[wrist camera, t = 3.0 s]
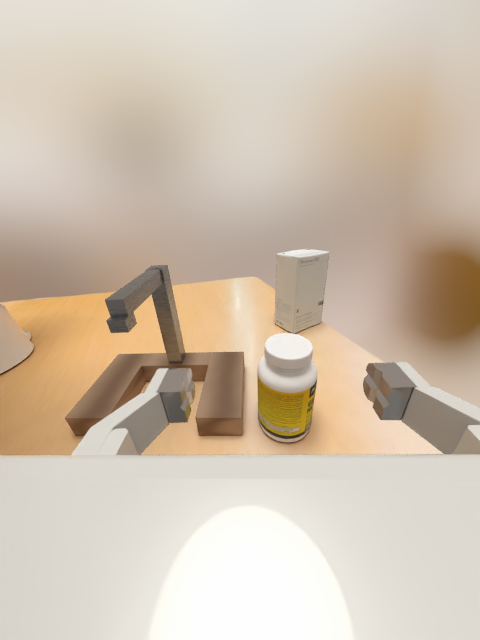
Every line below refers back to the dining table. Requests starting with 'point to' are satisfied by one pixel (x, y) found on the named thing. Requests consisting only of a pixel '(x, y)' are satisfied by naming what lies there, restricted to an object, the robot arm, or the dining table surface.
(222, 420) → the cutout shelf
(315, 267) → the skincare box
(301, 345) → the pill bottle
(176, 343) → the hook arm
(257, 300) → the dining table surface
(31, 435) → the dining table surface
